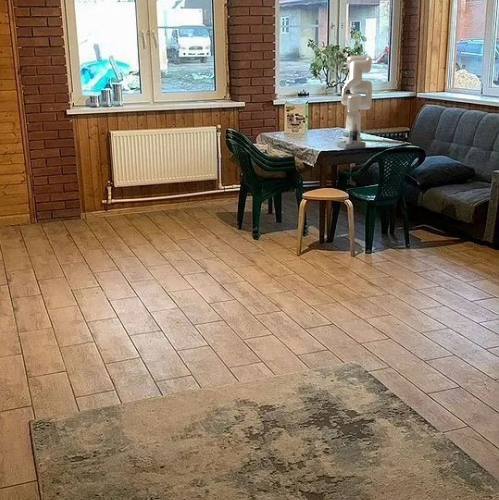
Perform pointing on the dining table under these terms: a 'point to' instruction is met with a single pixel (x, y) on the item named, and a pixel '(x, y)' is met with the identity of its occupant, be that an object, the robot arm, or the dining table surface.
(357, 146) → the sorting tray
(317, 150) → the dining table surface
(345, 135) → the light bulb box
